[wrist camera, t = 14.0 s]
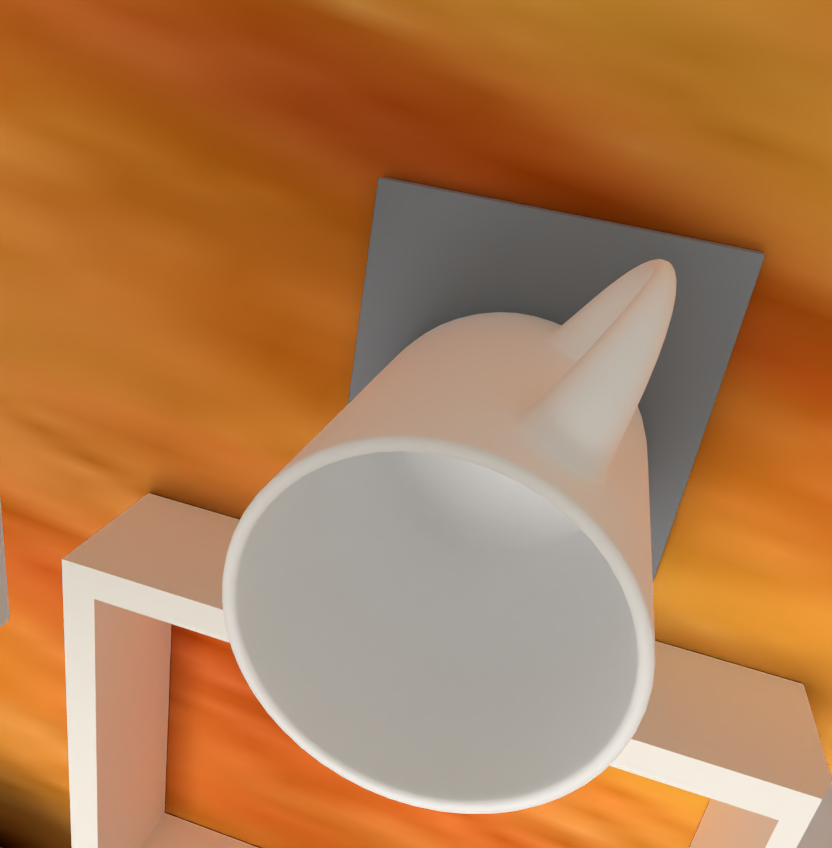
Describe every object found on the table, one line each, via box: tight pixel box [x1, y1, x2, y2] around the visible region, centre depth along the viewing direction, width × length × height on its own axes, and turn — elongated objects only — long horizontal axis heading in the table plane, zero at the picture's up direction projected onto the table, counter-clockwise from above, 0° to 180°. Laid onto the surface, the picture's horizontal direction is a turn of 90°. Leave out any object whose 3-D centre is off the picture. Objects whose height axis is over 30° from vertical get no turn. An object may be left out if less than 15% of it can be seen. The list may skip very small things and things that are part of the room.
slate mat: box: [348, 177, 765, 580], centre depth 24 cm, size 11×11×1 cm
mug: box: [222, 259, 677, 814], centre depth 19 cm, size 9×12×11 cm
